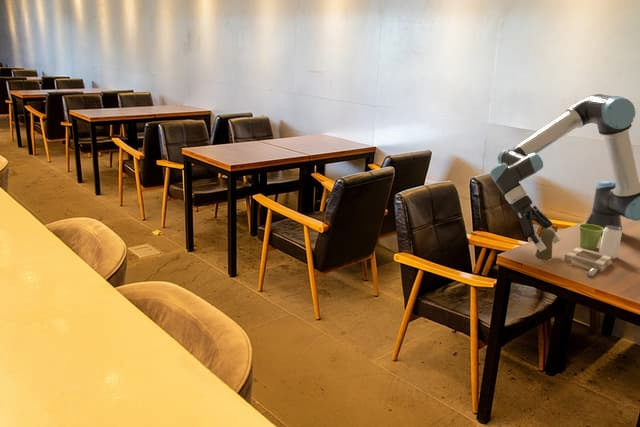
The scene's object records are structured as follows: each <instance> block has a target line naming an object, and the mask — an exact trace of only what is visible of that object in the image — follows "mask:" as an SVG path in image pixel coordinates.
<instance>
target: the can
mask: <svg viewBox="0 0 640 427" xmlns="http://www.w3.org/2000/svg"><path fill="white" fill-rule="evenodd" d="M621 230H622V231H621ZM622 236H623V228H622V229H621V228H620V227H617V226H612V225H607V226H606V227H605V229H604V230H603V235H601V238H600V239H601V241H600V245H599V249H598V253H602V254H606V255H609V256H613V257H612V260H615V259H617V258H618V253H619V249H620V245H621V244H620V243H621V240H622Z"/></svg>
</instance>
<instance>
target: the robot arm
mask: <svg viewBox="0 0 640 427" xmlns="http://www.w3.org/2000/svg"><path fill="white" fill-rule="evenodd" d="M634 118H636V108H635V105H634V104H633V102H631V100H630V99H628V98H625V97H622V96H618V95H606V94H602V93H601V94H600V93H599V94H597V93H596V94H592V95H588V96H586V97H584V98H582V99H581V100H579V101H577V102H576V103H574V104H572V105H571V106H569V107H568V108H567V109H566V110H565V112H564V113H563V114H562V115H560V116H559V117H557V118H556V119H554V120H553V121H552V122H550V123H548V124H547V125H546V126H544V127H542V128H541V129H539V130H538V131H537V132H534V134H532V135H531V136H529V137H528V138H526V139H525V140H523V141H522V142H520V143H518V144H517V145H516V146H514V147H512V148H511V149H502V150H501V151H500V152H499V153H498V156H497V163H498V164H499V165H497V166H495V167H494V168H492V170H491V171H490V177H491V179H492V180H493V182H494V184H495V185H496V186H497V187H498V189H499V191H500V192H501V193H502V195H503V196H504V198H505V200H506V201H507V202H508V204H510V208H512V210H513V211H514V212H515V213H517V214H516V217H517V219H518V221H519V224H520V227H521V229H522V232H523V234H524V236H525V237H526V238H527V239H529V238H530V239H531V241H532V242H533V244H534V245H535V247H536V249H538V250H539V251H540V252H541V251H543V250H545V249H546V246H545V245H544V243H543V242H542V240H541V237H540V236H539V235H538V233H536V232H535V228H534V224H533V222H535V223H537V224H539V225H540V227H542V228H544V229H549V230H552V231H554V233H555V237H554V238H553V239H552V244H557V243H558V242H560V241H561V239H560V238H559V236H558V233H556V232H555V230H554V229H553V227H552V226H553V223H552V221H551V220H550V219H549V218H548V217H547V216H546V215H545V214H544V213H543V212H542V211H541V210H540V209H539V208H538V207H537V205H534V206H531V205H532V204H533V201H532V199H531V198H530V196H529V195H528V193H527V192H526V190H525V188H524V187H523V186H522V184H521V183H520V182H522V181H524V180H525V179H527V178H529V177H531V176H533V175H534V174H537V172H539V171H541V170H542V169H543V167H544V162H543V160H542V158H541V156H540V155H539V153H540V152H542V151H544V150H545V149H546V148H548V147H549V146H551V145H552V144H554V143H556V142H558V140H560V139H562V138H563V137H564V136H566V135H568V134H569V133H571V132H573V130H575V129H576V128H577V129H581V128H582V127H584V126H585V125H588V124H596V126H597V129H598V134H599V135H600V136H603V137H604V142H605V146H606V149H607V150H606V151H607V156H608V158H609V163H610V166H611V171H612V172H611V173H612V175H613V176H612V177H613V180H599V181H598V183H597V185H596V188H595V193H594V199H593V203H592V208H591V212H590V214H589V216H588V217H587V219H586V221H585V223H584V224H592V225H597V226H600V227H603V228H604V229H605V227H606V226H607V225H612V226H617V227H620V228H621V229H622V230H621V231H622V232H623V226H622V219H621V217H624V218H625V219H628V220H632V221H636V222H637V221H640V180H639V175H638V172H637V165H636V161H635V160H636V159H635V156H634V152H633V147H632V143H631V137H630V133H629V131H630V129H631V128H632V126H633V125H632V124H633V122H634ZM602 235H603V233H602V234H601V236H602Z"/></svg>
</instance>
